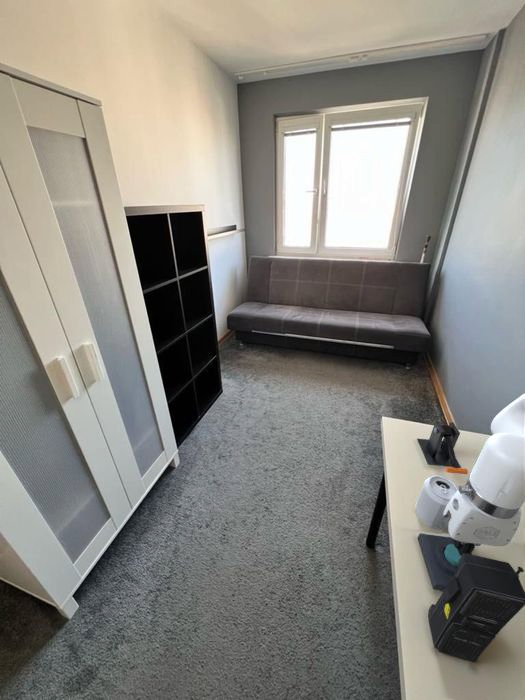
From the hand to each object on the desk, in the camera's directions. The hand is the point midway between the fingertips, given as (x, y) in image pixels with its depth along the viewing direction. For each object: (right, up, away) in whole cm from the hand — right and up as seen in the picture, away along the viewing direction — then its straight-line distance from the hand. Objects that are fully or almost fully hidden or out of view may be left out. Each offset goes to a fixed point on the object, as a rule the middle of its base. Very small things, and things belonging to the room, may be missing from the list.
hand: (460, 548), depth 58 cm
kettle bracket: (+13, +9, +29) cm, 33 cm away
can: (+1, -1, +13) cm, 13 cm away
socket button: (0, -3, +2) cm, 4 cm away
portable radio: (-7, -12, -6) cm, 15 cm away
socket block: (0, -6, +3) cm, 7 cm away
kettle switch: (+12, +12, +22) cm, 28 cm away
